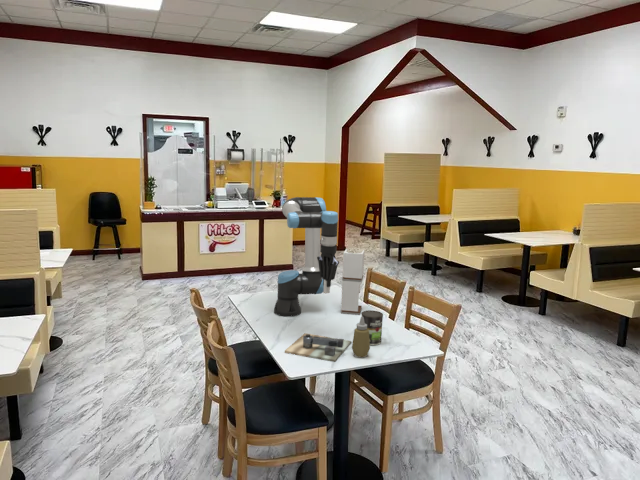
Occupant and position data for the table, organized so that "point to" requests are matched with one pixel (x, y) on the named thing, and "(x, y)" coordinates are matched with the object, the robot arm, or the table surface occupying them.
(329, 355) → the plate
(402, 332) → the table surface
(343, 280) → the white square tower
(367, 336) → the squeeze bottle
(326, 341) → the latch bar
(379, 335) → the coffee can
